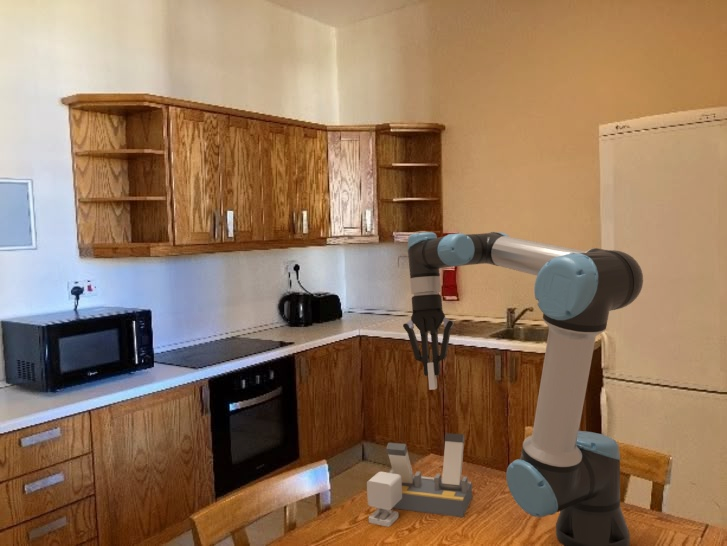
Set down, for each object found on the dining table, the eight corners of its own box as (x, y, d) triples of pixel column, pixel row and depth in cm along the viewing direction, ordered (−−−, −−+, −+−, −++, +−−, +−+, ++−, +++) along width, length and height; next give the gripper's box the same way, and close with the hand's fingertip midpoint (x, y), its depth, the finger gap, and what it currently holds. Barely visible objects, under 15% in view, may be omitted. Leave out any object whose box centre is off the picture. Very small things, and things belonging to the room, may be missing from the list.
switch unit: (472, 497, 160) (471, 470, 159) (463, 517, 149) (462, 488, 149) (397, 488, 167) (396, 462, 166) (384, 507, 157) (382, 479, 156)
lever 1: (416, 480, 160) (407, 444, 153) (414, 486, 159) (405, 450, 152) (396, 478, 162) (387, 442, 155) (394, 484, 160) (384, 448, 154)
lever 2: (462, 490, 155) (465, 435, 160) (460, 489, 154) (464, 434, 158) (441, 487, 157) (445, 434, 162) (439, 487, 155) (444, 432, 160)
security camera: (403, 514, 152) (401, 474, 152) (390, 527, 146) (388, 486, 145) (379, 509, 155) (378, 470, 155) (366, 522, 149) (364, 481, 148)
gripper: (454, 292, 159) (461, 386, 158) (404, 296, 163) (411, 387, 161) (449, 292, 152) (456, 390, 150) (397, 296, 156) (404, 391, 154)
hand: (433, 388), depth 156 cm, fingers closed
